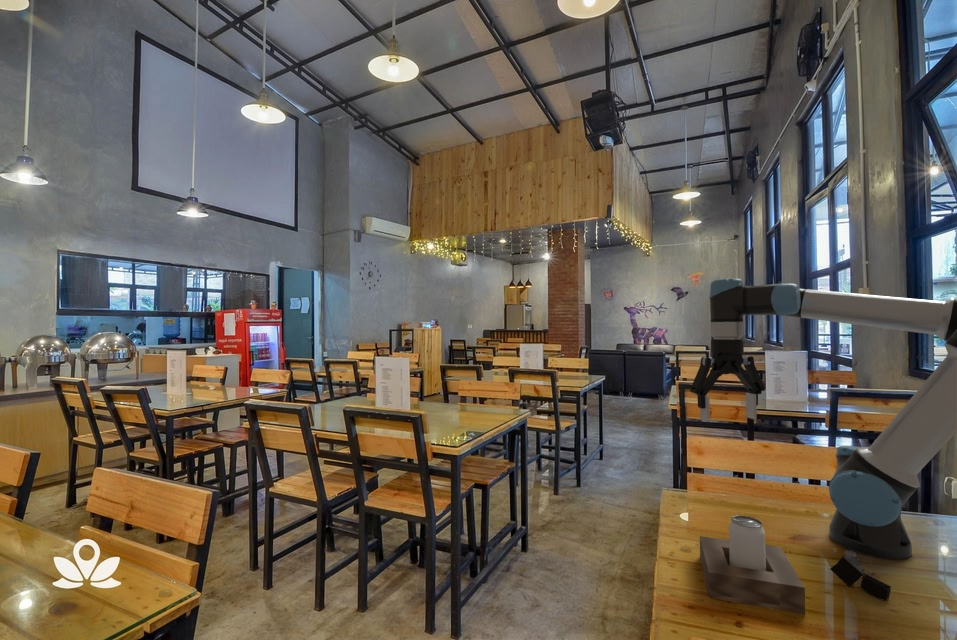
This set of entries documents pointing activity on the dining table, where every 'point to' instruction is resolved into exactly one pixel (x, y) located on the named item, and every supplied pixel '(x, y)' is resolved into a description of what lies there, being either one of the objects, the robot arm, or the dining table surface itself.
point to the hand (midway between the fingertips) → (728, 419)
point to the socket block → (751, 578)
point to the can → (747, 543)
